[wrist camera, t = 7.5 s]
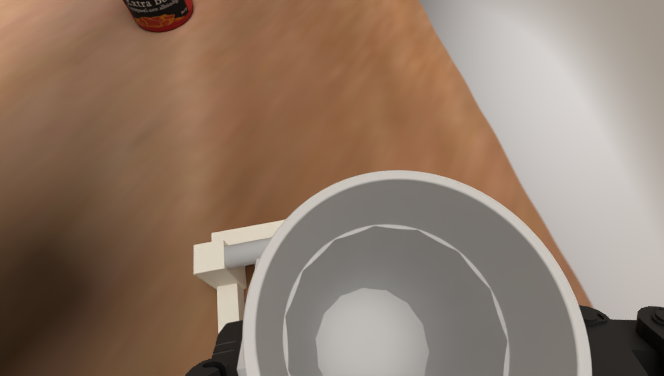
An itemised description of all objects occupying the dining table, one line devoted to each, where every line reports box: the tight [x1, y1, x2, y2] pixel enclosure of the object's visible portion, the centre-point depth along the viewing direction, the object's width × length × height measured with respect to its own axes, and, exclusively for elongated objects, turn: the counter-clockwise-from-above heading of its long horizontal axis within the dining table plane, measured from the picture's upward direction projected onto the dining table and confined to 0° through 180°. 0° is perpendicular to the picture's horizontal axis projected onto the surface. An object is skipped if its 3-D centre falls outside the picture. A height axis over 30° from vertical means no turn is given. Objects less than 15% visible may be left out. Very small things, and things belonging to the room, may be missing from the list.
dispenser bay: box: [194, 220, 285, 334], centre depth 24 cm, size 16×20×6 cm
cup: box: [242, 170, 592, 376], centre depth 13 cm, size 8×8×12 cm
